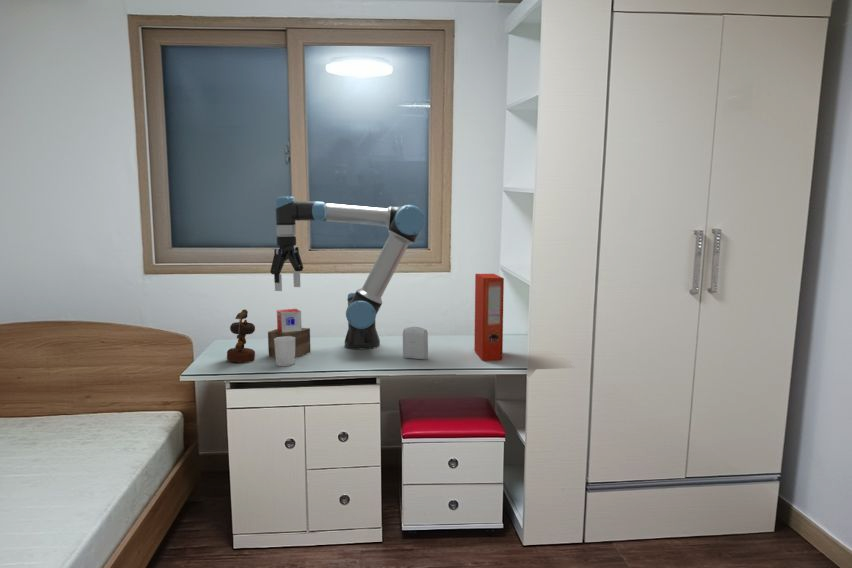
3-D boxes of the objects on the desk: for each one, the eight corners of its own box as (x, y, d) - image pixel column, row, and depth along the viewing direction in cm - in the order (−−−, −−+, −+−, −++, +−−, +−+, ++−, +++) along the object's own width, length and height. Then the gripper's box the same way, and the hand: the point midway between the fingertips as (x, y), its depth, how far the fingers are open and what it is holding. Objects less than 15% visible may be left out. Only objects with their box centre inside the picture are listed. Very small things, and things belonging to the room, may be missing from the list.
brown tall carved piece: (255, 363, 244) (254, 311, 242) (225, 365, 241) (223, 313, 239) (256, 354, 258) (254, 306, 256) (228, 356, 256) (226, 307, 254)
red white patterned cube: (296, 327, 263) (296, 308, 262) (301, 330, 256) (301, 311, 255) (277, 329, 260) (276, 310, 259) (281, 332, 253) (281, 312, 252)
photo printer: (401, 358, 251) (400, 327, 250) (406, 355, 255) (405, 325, 254) (425, 360, 247) (424, 328, 246) (429, 358, 251) (429, 327, 250)
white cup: (276, 362, 246) (275, 336, 245) (297, 361, 247) (296, 336, 245) (273, 367, 238) (272, 340, 237) (295, 366, 239) (294, 340, 238)
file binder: (493, 350, 263) (494, 273, 260) (503, 360, 246) (503, 277, 243) (474, 351, 262) (474, 273, 259) (482, 361, 245) (482, 278, 242)
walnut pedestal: (310, 352, 262) (309, 328, 261) (294, 358, 251) (293, 333, 250) (285, 350, 267) (284, 326, 265) (268, 356, 255) (267, 331, 254)
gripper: (295, 234, 267) (296, 285, 269) (259, 237, 243) (261, 292, 246) (310, 234, 264) (312, 285, 266) (276, 237, 241) (278, 293, 243)
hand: (288, 289), depth 256 cm, fingers open, 13 cm apart
